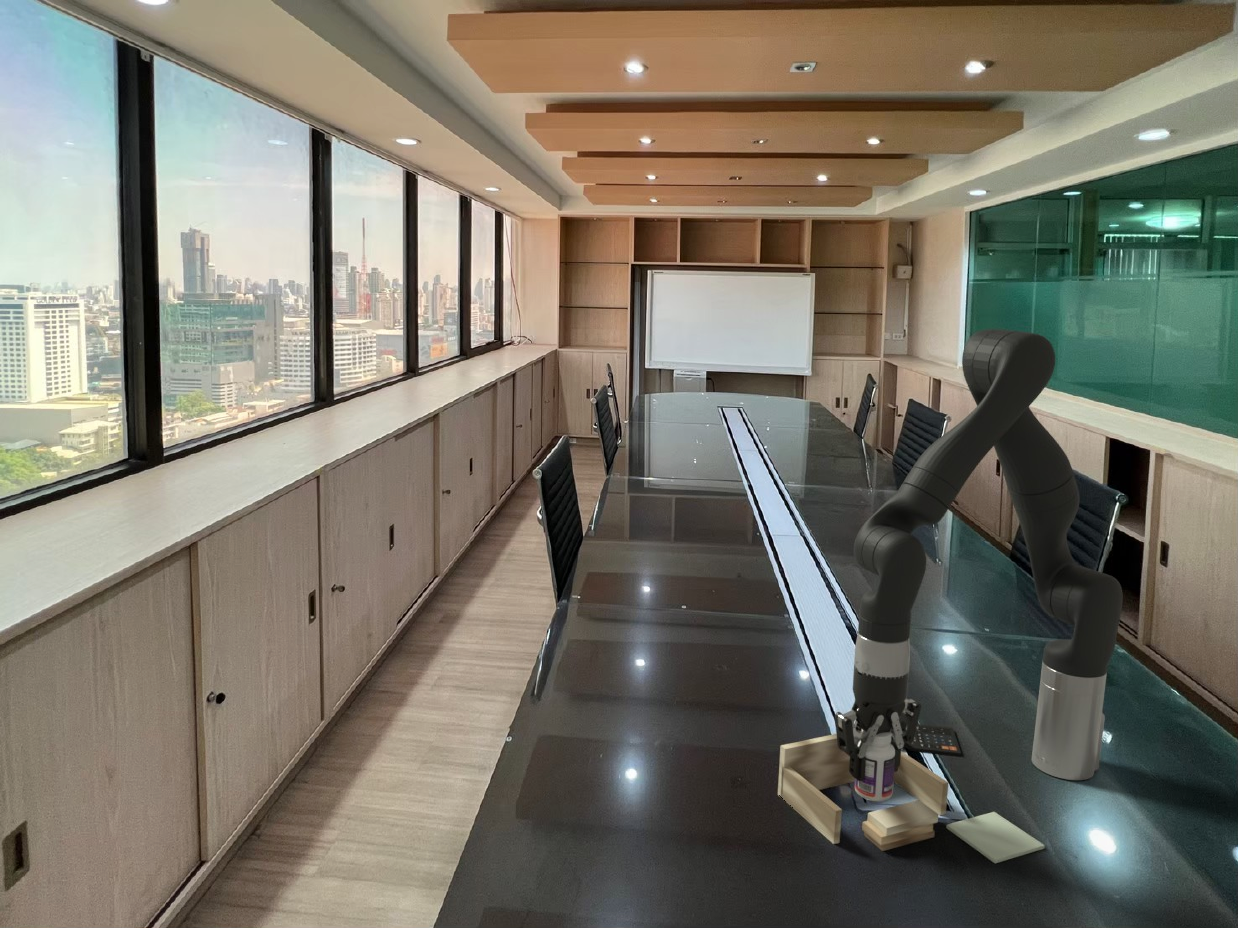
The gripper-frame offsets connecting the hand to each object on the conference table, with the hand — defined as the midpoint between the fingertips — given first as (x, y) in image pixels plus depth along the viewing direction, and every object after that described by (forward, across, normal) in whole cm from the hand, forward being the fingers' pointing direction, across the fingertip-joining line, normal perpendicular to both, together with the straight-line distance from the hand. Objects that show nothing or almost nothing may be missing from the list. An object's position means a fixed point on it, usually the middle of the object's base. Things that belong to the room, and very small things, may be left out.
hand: (874, 773), depth 134 cm
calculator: (+7, -23, -15) cm, 28 cm away
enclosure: (+6, 0, -2) cm, 6 cm away
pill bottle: (+3, 0, 0) cm, 3 cm away
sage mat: (+6, -12, +12) cm, 18 cm away
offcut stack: (+6, 0, +7) cm, 9 cm away
